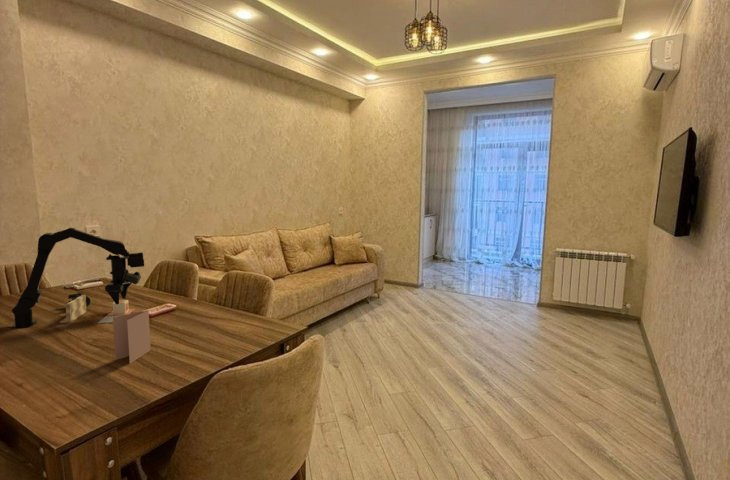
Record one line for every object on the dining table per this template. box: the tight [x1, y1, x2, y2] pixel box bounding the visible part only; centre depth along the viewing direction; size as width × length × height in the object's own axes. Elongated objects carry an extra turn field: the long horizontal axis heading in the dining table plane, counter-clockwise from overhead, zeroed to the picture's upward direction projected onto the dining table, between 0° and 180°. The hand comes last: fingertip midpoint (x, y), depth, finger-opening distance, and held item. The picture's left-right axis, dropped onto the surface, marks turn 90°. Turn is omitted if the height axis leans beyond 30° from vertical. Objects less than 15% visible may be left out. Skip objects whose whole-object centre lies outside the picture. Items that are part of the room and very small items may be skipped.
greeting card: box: [112, 309, 152, 364], centre depth 137 cm, size 11×7×15 cm, turn 141°
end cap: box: [67, 291, 91, 308], centre depth 192 cm, size 10×7×7 cm
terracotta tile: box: [106, 308, 136, 316], centre depth 185 cm, size 9×9×1 cm
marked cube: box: [112, 299, 130, 314], centre depth 185 cm, size 5×5×5 cm
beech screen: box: [59, 294, 88, 324], centre depth 178 cm, size 16×4×8 cm, turn 14°
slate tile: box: [97, 315, 122, 325], centre depth 176 cm, size 9×9×1 cm
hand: (120, 301), depth 185 cm, fingers open, 9 cm apart
